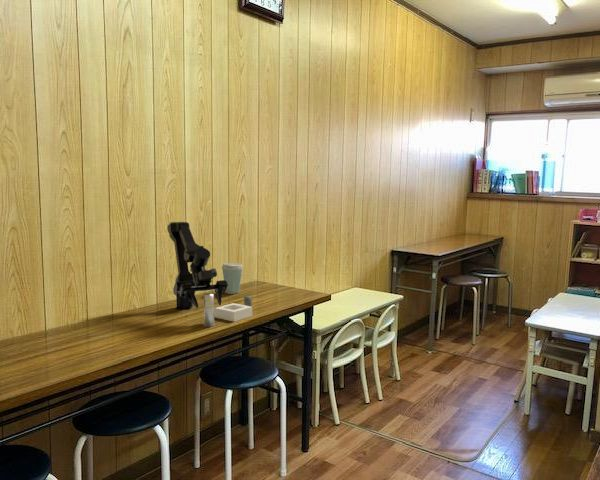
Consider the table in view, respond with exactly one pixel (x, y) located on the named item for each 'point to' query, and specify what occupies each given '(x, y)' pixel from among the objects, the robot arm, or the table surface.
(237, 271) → the disposable coffee cup
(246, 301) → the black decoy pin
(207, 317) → the steel pin
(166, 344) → the table surface
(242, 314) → the socket block
